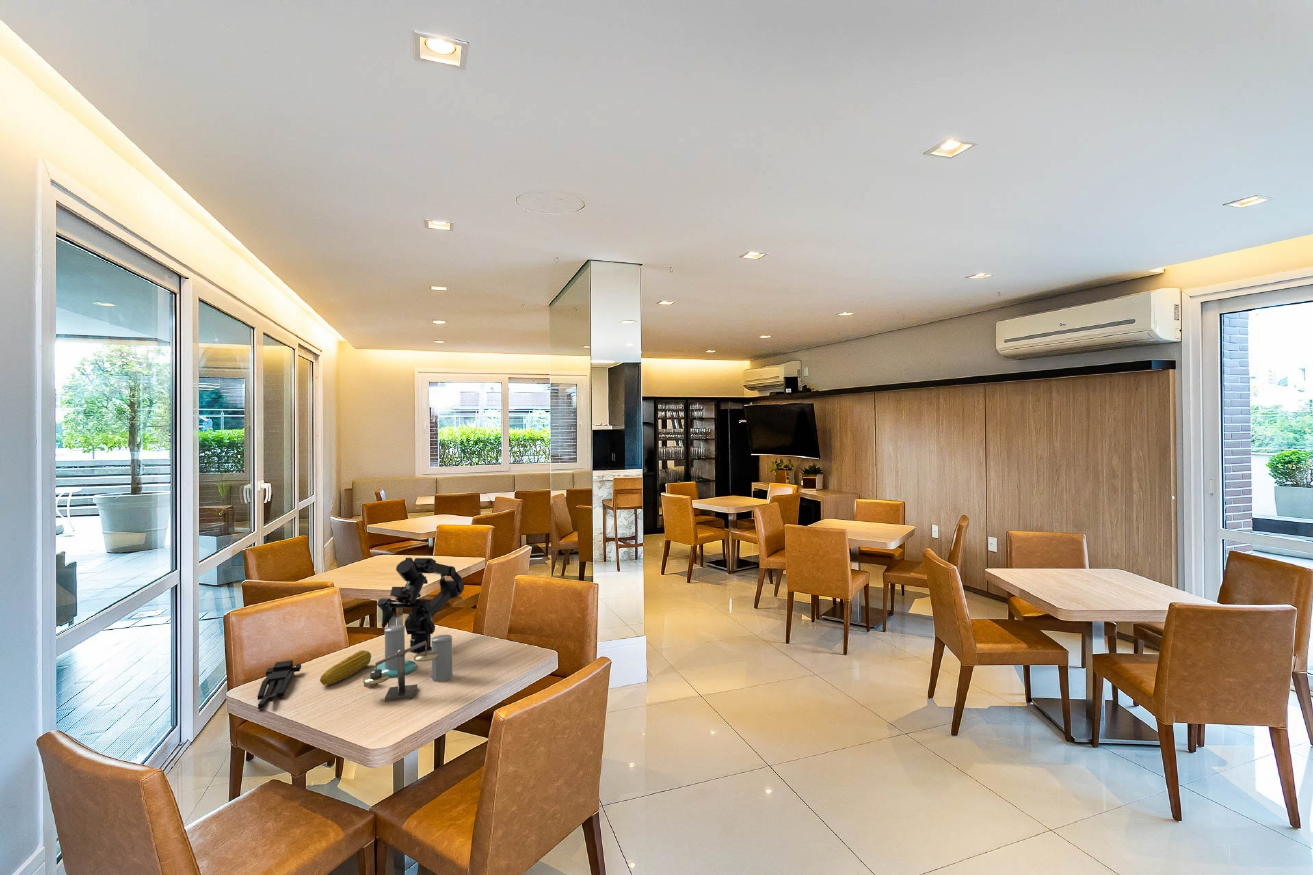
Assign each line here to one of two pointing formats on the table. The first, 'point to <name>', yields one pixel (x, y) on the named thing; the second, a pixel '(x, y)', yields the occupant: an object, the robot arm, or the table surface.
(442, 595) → the robot arm
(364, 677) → the block
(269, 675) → the toy
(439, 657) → the cup
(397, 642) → the cup
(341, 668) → the food
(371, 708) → the table surface
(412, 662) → the dish
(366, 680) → the balance
